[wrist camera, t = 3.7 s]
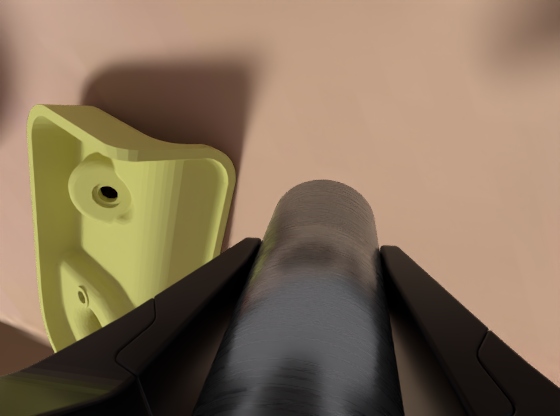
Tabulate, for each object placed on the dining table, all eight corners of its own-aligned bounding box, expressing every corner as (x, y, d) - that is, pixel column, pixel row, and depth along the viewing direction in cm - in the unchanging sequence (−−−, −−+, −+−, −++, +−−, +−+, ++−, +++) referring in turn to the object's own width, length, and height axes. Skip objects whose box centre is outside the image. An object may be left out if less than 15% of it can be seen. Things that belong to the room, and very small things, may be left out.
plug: (379, 181, 9) (443, 453, 3) (370, 271, 11) (402, 574, 5) (270, 178, 10) (150, 405, 4) (275, 264, 11) (194, 527, 5)
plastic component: (23, 92, 18) (130, 160, 14) (142, 98, 24) (243, 147, 20) (41, 341, 27) (111, 432, 22) (126, 301, 33) (195, 366, 28)
